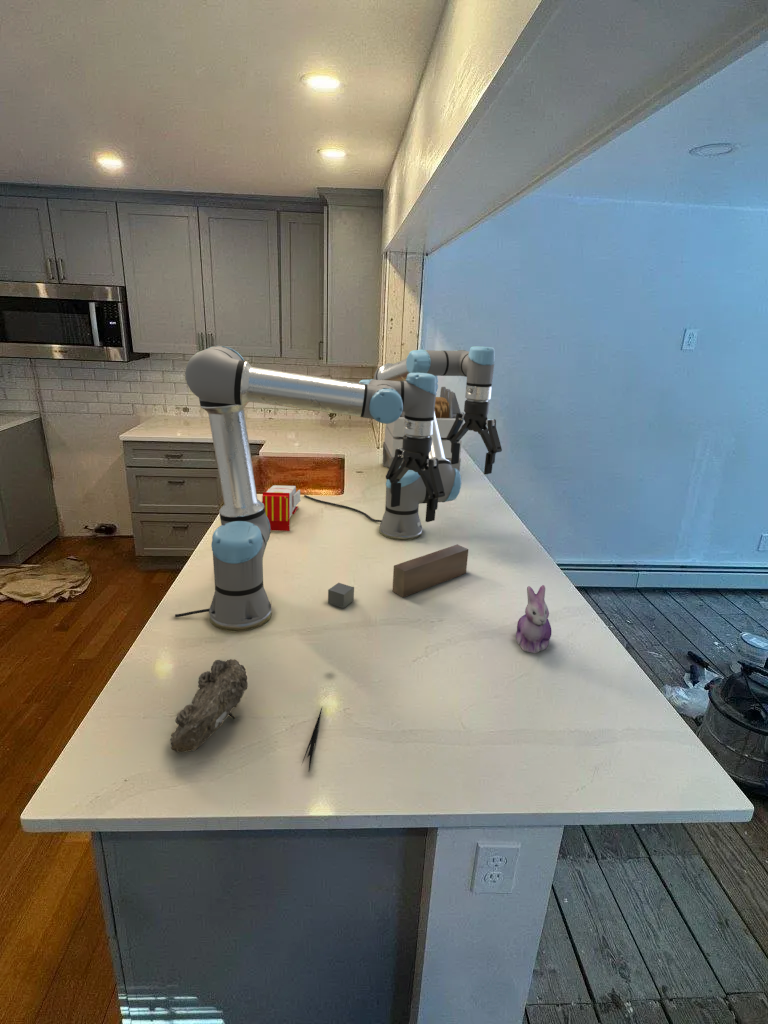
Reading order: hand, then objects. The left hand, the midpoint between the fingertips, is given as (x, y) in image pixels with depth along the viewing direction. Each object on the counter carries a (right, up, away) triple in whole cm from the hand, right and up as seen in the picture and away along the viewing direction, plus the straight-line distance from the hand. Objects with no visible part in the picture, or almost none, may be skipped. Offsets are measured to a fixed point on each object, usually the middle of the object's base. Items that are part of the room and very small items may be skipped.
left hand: (412, 513), depth 152 cm
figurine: (+28, -31, -15) cm, 45 cm away
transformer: (+9, +19, +123) cm, 125 cm away
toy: (-46, -2, +58) cm, 74 cm away
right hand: (+20, +14, +25) cm, 35 cm away
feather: (-20, -39, -43) cm, 62 cm away
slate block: (-19, -24, 0) cm, 31 cm away
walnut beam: (+6, -20, +14) cm, 25 cm away
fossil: (-40, -39, -44) cm, 71 cm away
